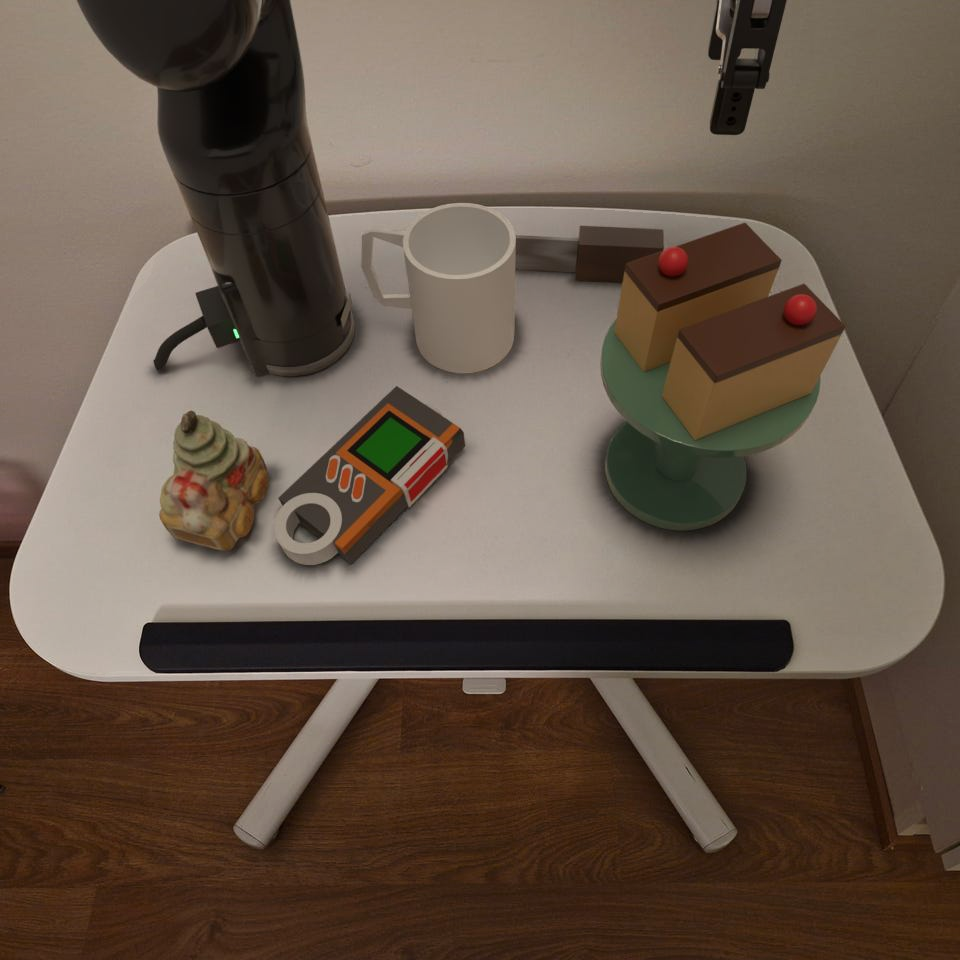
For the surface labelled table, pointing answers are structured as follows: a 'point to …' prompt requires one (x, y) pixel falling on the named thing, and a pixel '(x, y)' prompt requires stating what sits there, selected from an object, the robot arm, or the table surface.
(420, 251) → the cup
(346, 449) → the electronic device
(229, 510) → the ornament
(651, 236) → the knife
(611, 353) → the cake stand
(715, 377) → the cake
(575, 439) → the table surface
